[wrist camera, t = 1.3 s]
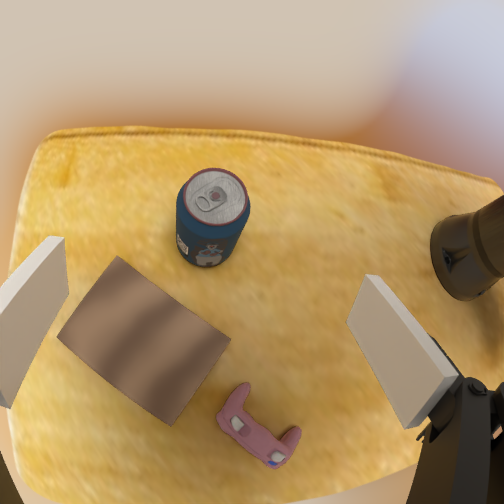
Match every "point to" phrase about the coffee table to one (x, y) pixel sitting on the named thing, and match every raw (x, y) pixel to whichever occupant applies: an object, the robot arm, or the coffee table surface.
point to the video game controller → (255, 431)
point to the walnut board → (143, 341)
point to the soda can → (210, 216)
